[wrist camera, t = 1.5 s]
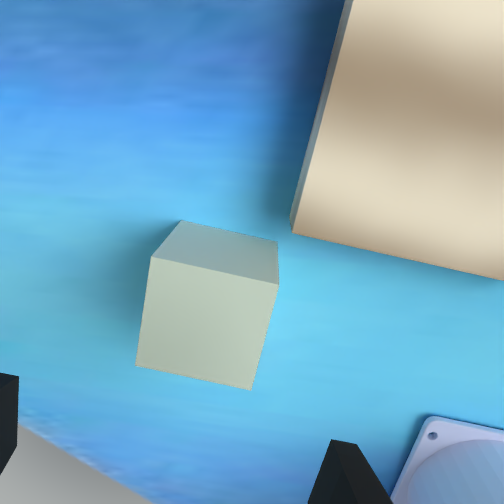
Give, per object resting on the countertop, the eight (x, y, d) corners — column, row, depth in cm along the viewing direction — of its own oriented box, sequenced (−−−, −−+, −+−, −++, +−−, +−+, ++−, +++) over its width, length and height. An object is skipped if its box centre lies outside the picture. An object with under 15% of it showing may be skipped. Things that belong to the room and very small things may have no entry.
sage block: (255, 325, 20) (250, 390, 15) (167, 306, 20) (134, 365, 15) (277, 241, 19) (279, 285, 14) (181, 219, 19) (151, 256, 14)
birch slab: (517, 266, 19) (560, 293, 16) (288, 214, 19) (291, 232, 16) (641, 3, 15) (725, -22, 13) (361, -67, 15) (382, -108, 12)
